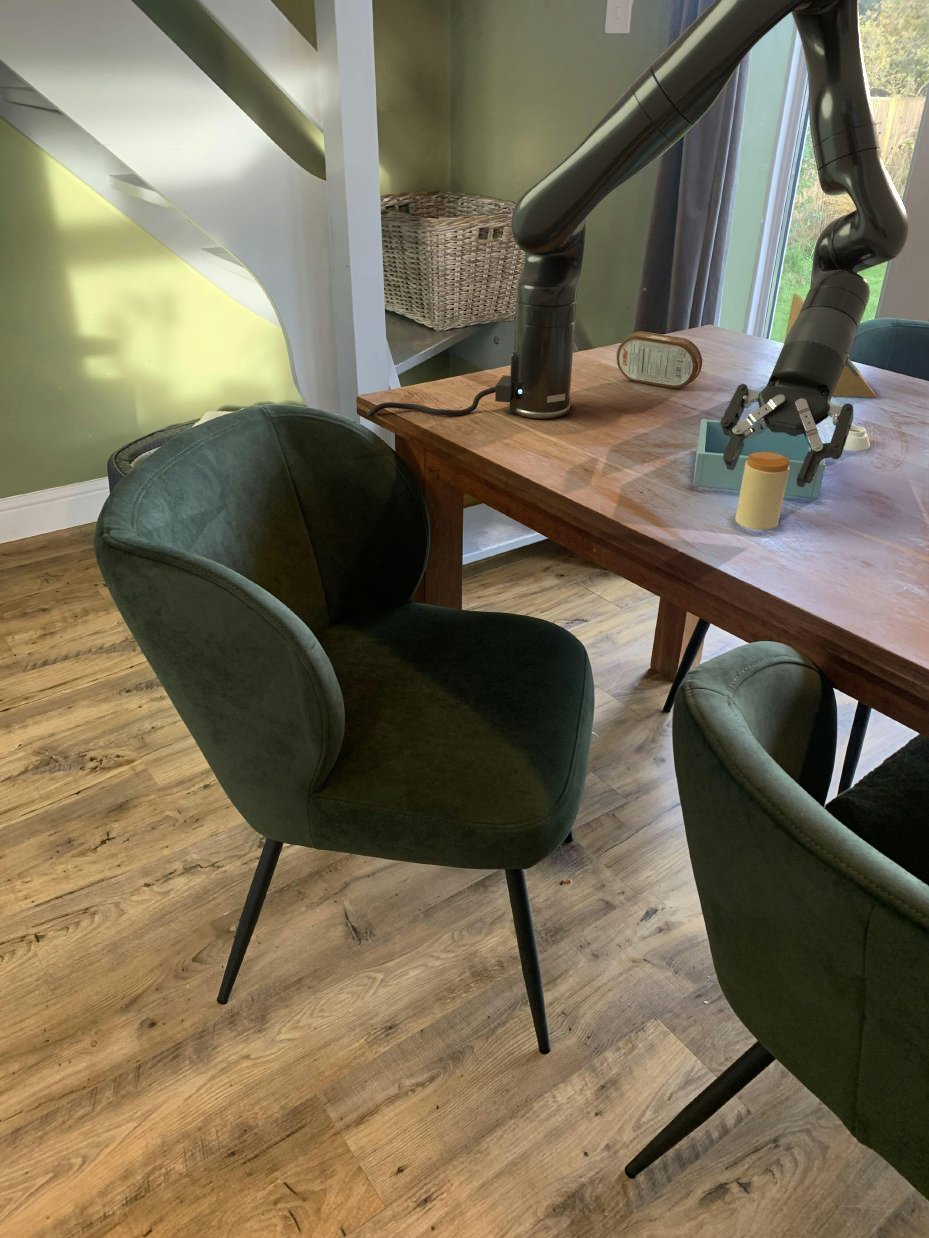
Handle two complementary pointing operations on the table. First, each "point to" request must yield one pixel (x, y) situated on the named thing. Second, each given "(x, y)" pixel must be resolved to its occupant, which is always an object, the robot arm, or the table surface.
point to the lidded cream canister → (762, 490)
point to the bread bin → (718, 476)
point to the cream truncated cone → (857, 439)
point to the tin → (659, 359)
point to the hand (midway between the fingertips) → (764, 475)
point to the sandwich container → (850, 377)
